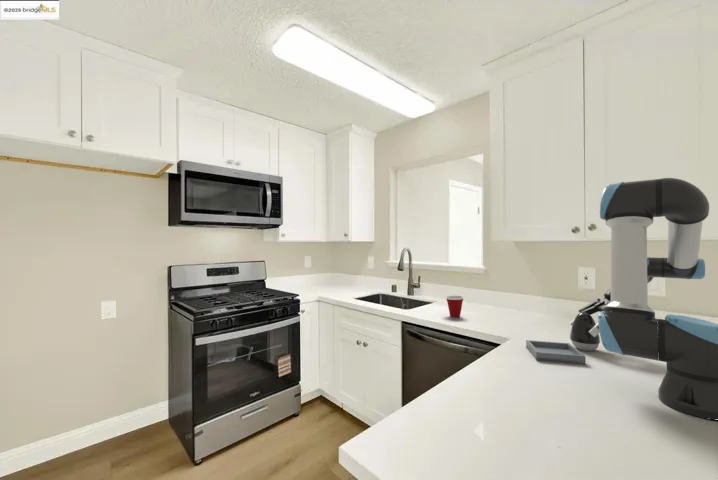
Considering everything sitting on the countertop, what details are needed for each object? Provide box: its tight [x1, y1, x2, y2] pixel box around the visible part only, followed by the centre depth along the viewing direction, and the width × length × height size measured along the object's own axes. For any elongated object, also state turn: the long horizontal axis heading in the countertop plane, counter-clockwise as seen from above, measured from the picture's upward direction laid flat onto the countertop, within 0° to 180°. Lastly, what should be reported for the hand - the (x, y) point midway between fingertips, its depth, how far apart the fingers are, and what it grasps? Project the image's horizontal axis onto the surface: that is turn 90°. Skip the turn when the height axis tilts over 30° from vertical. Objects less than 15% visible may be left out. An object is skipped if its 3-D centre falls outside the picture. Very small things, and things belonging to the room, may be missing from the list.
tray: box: [525, 339, 587, 365], centre depth 125 cm, size 16×16×3 cm
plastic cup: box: [445, 295, 465, 318], centre depth 194 cm, size 11×11×12 cm
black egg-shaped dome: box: [569, 312, 601, 352], centre depth 132 cm, size 10×10×15 cm
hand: (581, 330), depth 133 cm, fingers open, 13 cm apart
